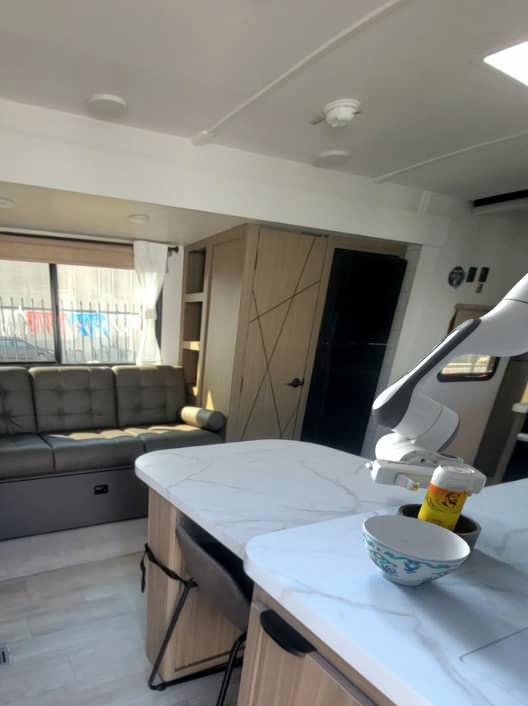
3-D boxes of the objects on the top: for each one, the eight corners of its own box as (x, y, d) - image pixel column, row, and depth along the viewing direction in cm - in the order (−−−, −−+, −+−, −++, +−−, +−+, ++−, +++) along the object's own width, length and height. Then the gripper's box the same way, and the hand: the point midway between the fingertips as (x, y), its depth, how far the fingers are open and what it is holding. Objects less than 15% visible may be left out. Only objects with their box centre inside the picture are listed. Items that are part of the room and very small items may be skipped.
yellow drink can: (417, 545, 78) (445, 472, 71) (406, 531, 83) (431, 461, 77) (452, 550, 77) (484, 476, 70) (439, 535, 82) (467, 465, 75)
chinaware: (378, 600, 63) (393, 557, 59) (337, 550, 76) (348, 513, 73) (474, 603, 63) (495, 561, 59) (416, 553, 76) (431, 516, 73)
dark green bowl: (445, 530, 85) (455, 506, 83) (486, 564, 73) (499, 538, 71) (379, 524, 87) (387, 501, 84) (408, 557, 75) (418, 531, 72)
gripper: (367, 448, 91) (387, 468, 78) (469, 458, 87) (507, 480, 75) (359, 475, 93) (378, 498, 81) (458, 485, 90) (492, 511, 78)
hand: (441, 489), depth 78 cm, fingers open, 8 cm apart
